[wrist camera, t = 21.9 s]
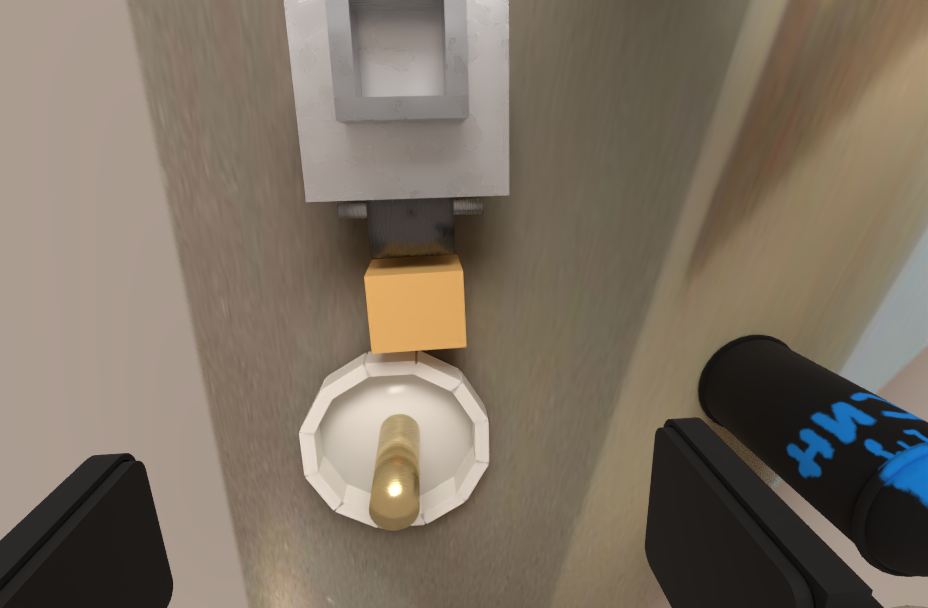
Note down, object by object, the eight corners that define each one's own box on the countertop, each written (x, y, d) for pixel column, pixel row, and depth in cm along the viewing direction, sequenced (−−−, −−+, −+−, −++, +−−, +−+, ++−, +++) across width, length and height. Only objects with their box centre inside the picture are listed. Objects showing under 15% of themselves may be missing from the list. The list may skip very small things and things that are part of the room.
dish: (482, 341, 39) (487, 356, 36) (485, 495, 43) (490, 519, 40) (300, 351, 38) (290, 367, 35) (319, 507, 42) (312, 533, 39)
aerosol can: (809, 397, 43) (1126, 595, 24) (718, 444, 43) (956, 676, 24) (777, 315, 40) (1099, 461, 21) (682, 366, 41) (912, 553, 22)
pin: (418, 412, 39) (418, 485, 31) (420, 448, 40) (420, 528, 32) (378, 415, 39) (366, 489, 30) (381, 450, 40) (370, 532, 31)
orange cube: (456, 254, 37) (463, 270, 32) (460, 320, 38) (466, 347, 33) (372, 259, 37) (364, 276, 31) (378, 326, 38) (371, 353, 33)
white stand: (488, -10, 32) (520, -83, 22) (492, 244, 37) (518, 278, 27) (309, -9, 32) (258, -84, 22) (334, 250, 36) (302, 288, 26)
